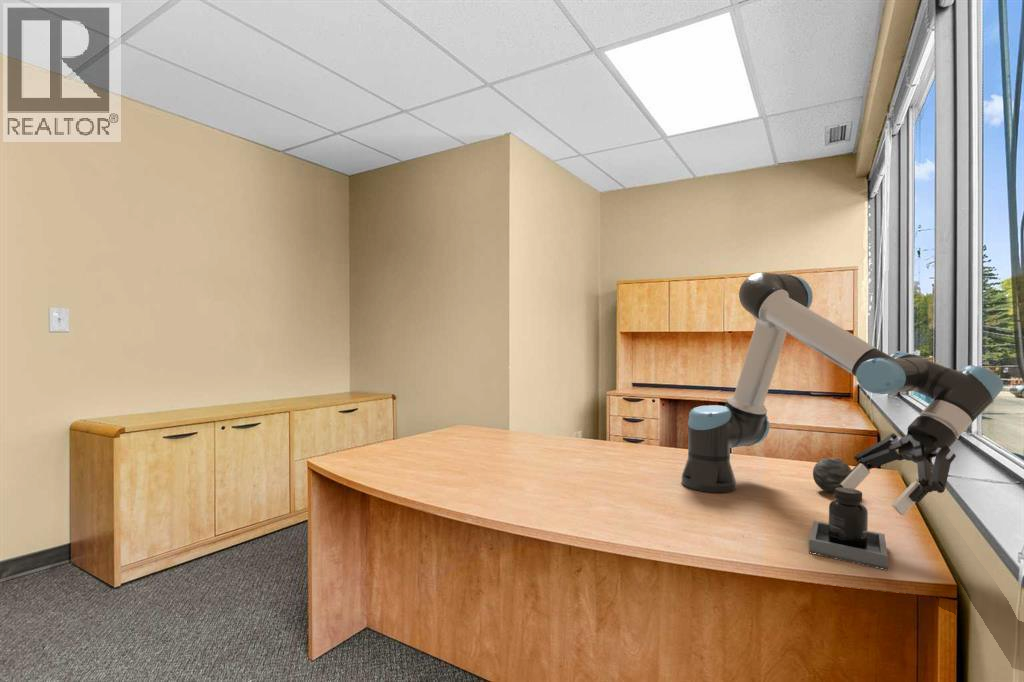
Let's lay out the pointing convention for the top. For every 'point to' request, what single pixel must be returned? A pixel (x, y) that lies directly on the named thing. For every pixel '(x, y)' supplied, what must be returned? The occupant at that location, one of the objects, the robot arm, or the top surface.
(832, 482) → the decorative stone
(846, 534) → the supplement bottle
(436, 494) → the top surface
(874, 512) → the top surface
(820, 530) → the tray
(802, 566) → the top surface
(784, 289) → the robot arm
